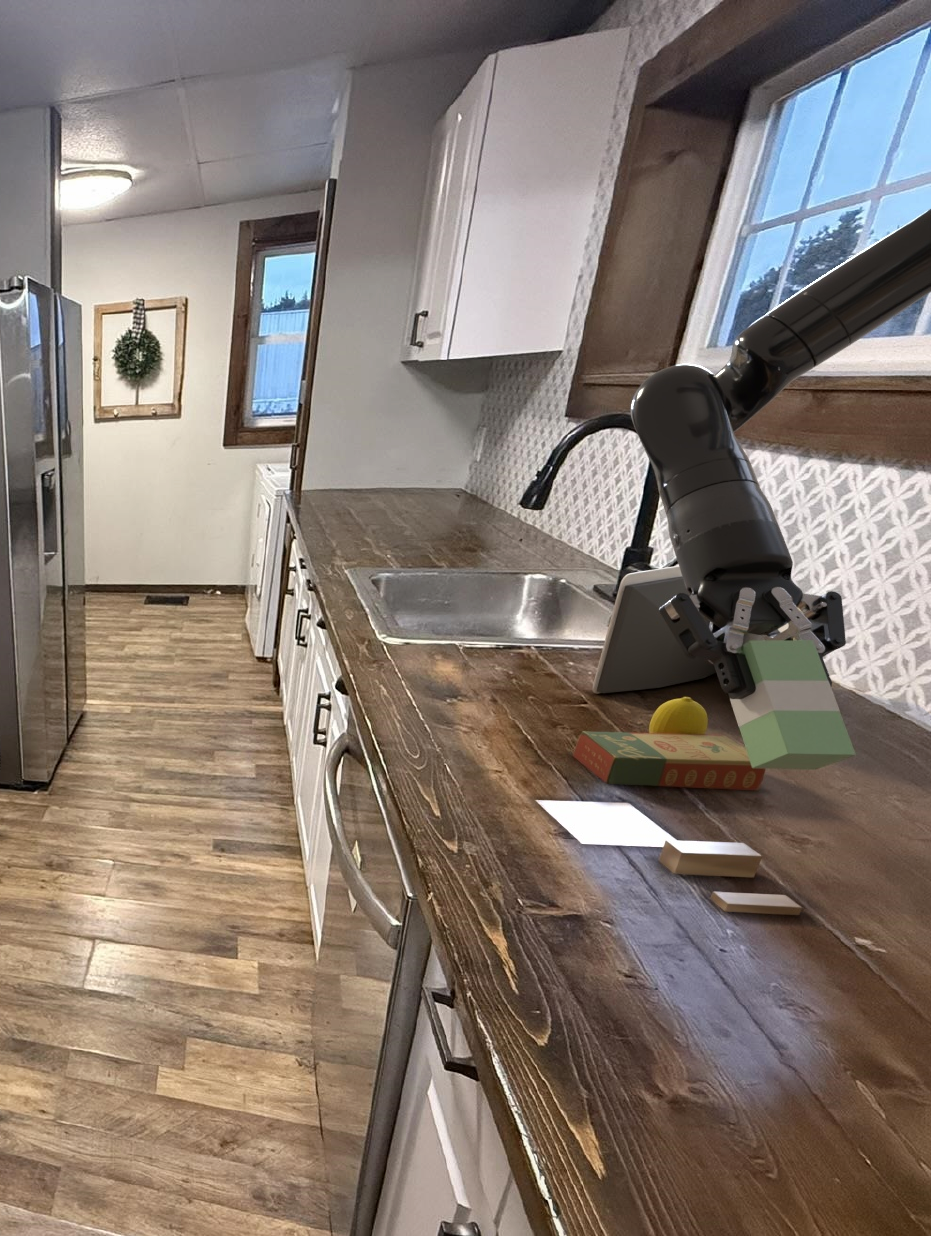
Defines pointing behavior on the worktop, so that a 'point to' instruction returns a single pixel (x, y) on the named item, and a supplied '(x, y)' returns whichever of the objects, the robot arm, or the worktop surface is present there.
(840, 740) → the packet
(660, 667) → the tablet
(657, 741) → the carton
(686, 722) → the lemon
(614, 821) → the coaster
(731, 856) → the wooden bars
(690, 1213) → the worktop surface
